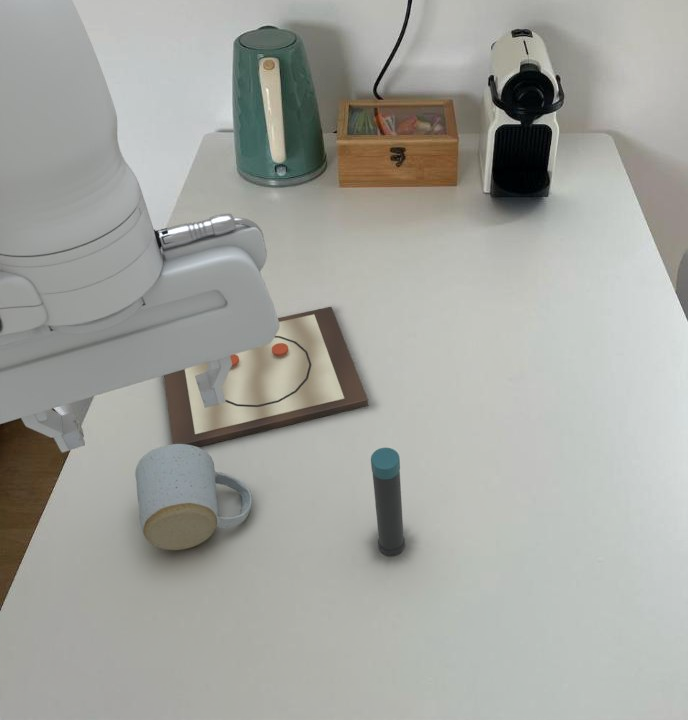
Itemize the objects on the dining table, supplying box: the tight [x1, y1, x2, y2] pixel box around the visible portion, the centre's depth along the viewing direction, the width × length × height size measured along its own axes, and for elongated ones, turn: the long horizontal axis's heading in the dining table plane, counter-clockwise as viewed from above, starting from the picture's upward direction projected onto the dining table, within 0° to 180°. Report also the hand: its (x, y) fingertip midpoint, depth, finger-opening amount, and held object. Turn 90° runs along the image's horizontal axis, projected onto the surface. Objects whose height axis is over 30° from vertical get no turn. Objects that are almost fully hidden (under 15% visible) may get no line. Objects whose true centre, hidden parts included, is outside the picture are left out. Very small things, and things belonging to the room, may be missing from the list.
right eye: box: [272, 343, 288, 356], centre depth 98 cm, size 2×2×1 cm
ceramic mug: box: [134, 443, 253, 551], centre depth 80 cm, size 11×8×8 cm
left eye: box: [230, 354, 239, 367], centre depth 97 cm, size 2×2×1 cm
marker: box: [370, 447, 406, 557], centre depth 75 cm, size 3×3×13 cm
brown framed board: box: [163, 306, 369, 448], centre depth 97 cm, size 22×18×1 cm
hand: (144, 420), depth 55 cm, fingers open, 8 cm apart
